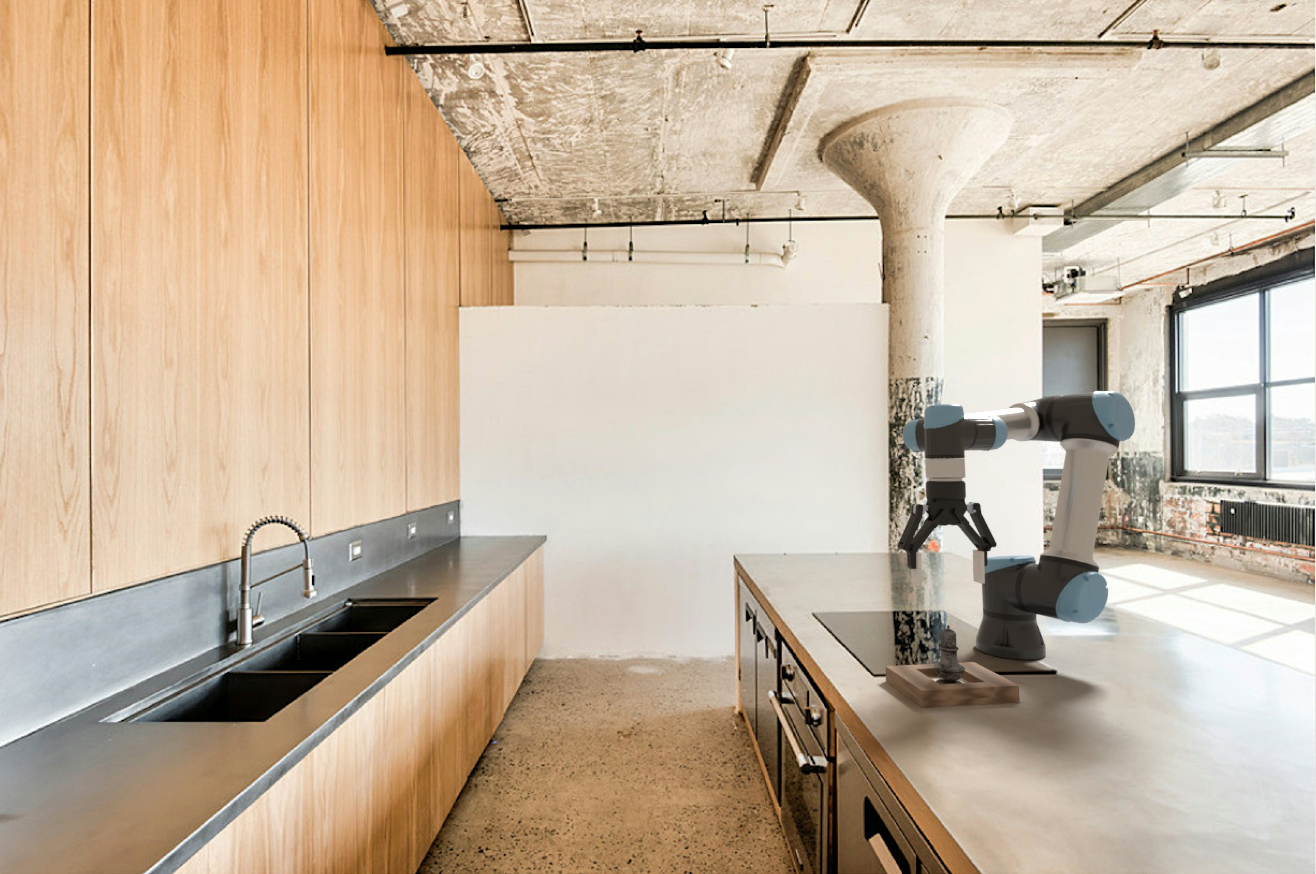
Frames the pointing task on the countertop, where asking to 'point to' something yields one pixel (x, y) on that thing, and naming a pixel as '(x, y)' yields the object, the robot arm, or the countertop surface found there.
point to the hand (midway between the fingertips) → (948, 583)
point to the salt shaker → (949, 659)
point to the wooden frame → (952, 686)
